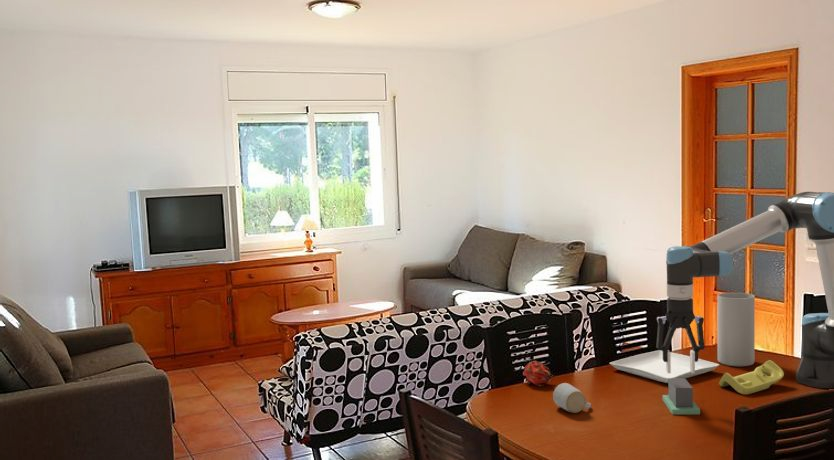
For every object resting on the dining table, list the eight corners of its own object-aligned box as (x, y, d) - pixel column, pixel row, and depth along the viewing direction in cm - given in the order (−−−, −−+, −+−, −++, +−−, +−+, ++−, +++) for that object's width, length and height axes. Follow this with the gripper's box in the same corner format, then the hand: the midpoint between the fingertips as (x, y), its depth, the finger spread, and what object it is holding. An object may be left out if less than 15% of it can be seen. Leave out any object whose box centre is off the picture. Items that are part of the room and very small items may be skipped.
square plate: (659, 358, 291) (659, 348, 291) (721, 374, 268) (721, 363, 268) (608, 371, 277) (608, 360, 277) (669, 388, 254) (668, 377, 254)
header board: (688, 399, 241) (688, 384, 240) (700, 414, 227) (700, 398, 226) (662, 399, 242) (662, 384, 241) (672, 414, 228) (672, 398, 227)
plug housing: (665, 393, 243) (665, 374, 243) (681, 393, 243) (681, 374, 242) (675, 407, 229) (675, 387, 229) (692, 407, 229) (692, 387, 228)
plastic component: (745, 389, 242) (722, 369, 249) (738, 406, 245) (716, 386, 253) (790, 375, 249) (767, 356, 257) (782, 392, 253) (760, 373, 261)
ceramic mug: (567, 416, 230) (567, 391, 229) (552, 408, 238) (552, 384, 237) (596, 411, 234) (596, 386, 233) (581, 403, 241) (581, 379, 241)
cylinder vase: (751, 368, 272) (751, 299, 269) (714, 364, 278) (714, 297, 276) (757, 360, 282) (757, 293, 280) (721, 356, 289) (721, 291, 287)
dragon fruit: (526, 383, 270) (550, 396, 260) (512, 373, 265) (535, 386, 255) (539, 362, 271) (562, 374, 261) (525, 352, 266) (548, 364, 257)
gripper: (649, 300, 229) (650, 375, 231) (716, 299, 226) (716, 375, 228) (644, 296, 236) (645, 368, 238) (709, 294, 234) (710, 368, 236)
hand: (680, 371), depth 233 cm, fingers open, 6 cm apart
